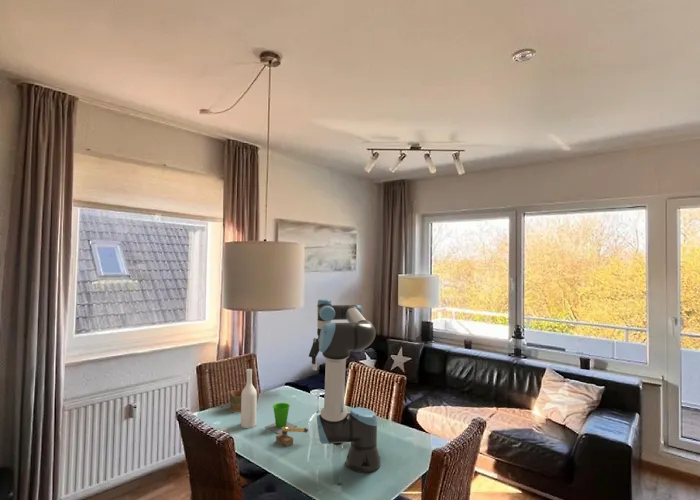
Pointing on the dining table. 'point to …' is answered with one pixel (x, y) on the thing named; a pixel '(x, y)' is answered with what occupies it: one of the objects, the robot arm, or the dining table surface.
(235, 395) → the mug
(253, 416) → the bottle
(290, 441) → the brown wooden block
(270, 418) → the dining table surface
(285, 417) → the cup
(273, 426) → the felt pad
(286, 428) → the lever
